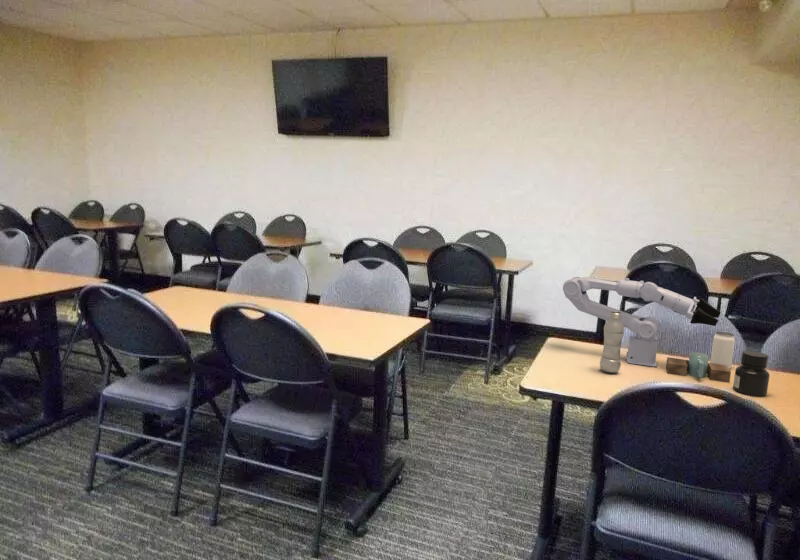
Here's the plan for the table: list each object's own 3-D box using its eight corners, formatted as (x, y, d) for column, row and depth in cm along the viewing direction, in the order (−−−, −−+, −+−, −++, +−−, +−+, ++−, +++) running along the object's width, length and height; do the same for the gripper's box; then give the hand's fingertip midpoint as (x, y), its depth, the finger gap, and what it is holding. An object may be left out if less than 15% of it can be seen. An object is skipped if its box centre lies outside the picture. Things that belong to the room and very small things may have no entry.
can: (733, 370, 195) (738, 336, 193) (713, 368, 196) (718, 335, 195) (727, 365, 202) (731, 332, 200) (707, 363, 203) (711, 330, 201)
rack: (667, 373, 188) (668, 363, 188) (665, 367, 196) (667, 357, 195) (729, 382, 182) (730, 372, 181) (725, 375, 189) (726, 365, 189)
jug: (689, 380, 182) (692, 359, 181) (686, 371, 192) (689, 351, 191) (709, 383, 180) (712, 362, 179) (705, 374, 190) (707, 353, 189)
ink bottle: (740, 384, 180) (746, 348, 178) (771, 393, 173) (777, 355, 171) (727, 390, 174) (732, 352, 172) (758, 399, 167) (764, 359, 166)
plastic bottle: (620, 371, 188) (627, 311, 185) (619, 376, 182) (625, 315, 179) (600, 367, 191) (606, 309, 188) (597, 373, 185) (604, 312, 182)
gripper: (677, 298, 185) (721, 316, 179) (684, 285, 196) (725, 301, 190) (668, 317, 188) (711, 334, 182) (675, 302, 199) (716, 319, 193)
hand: (718, 319), depth 186 cm, fingers open, 7 cm apart
